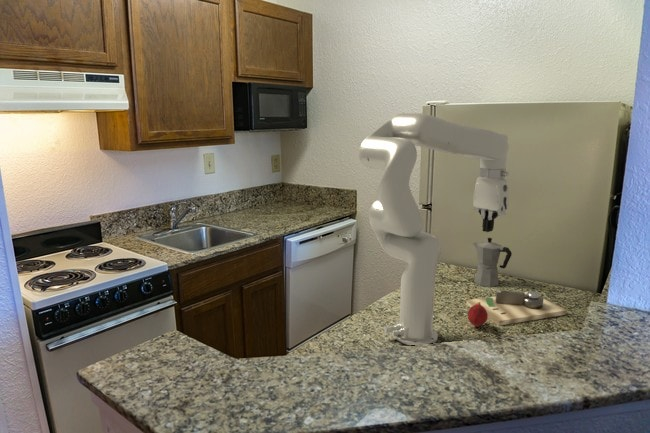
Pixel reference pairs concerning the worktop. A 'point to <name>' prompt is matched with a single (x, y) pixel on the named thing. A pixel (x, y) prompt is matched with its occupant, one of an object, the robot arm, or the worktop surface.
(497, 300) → the dial
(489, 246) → the coffeepot
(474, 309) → the onion
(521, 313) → the tuner board
